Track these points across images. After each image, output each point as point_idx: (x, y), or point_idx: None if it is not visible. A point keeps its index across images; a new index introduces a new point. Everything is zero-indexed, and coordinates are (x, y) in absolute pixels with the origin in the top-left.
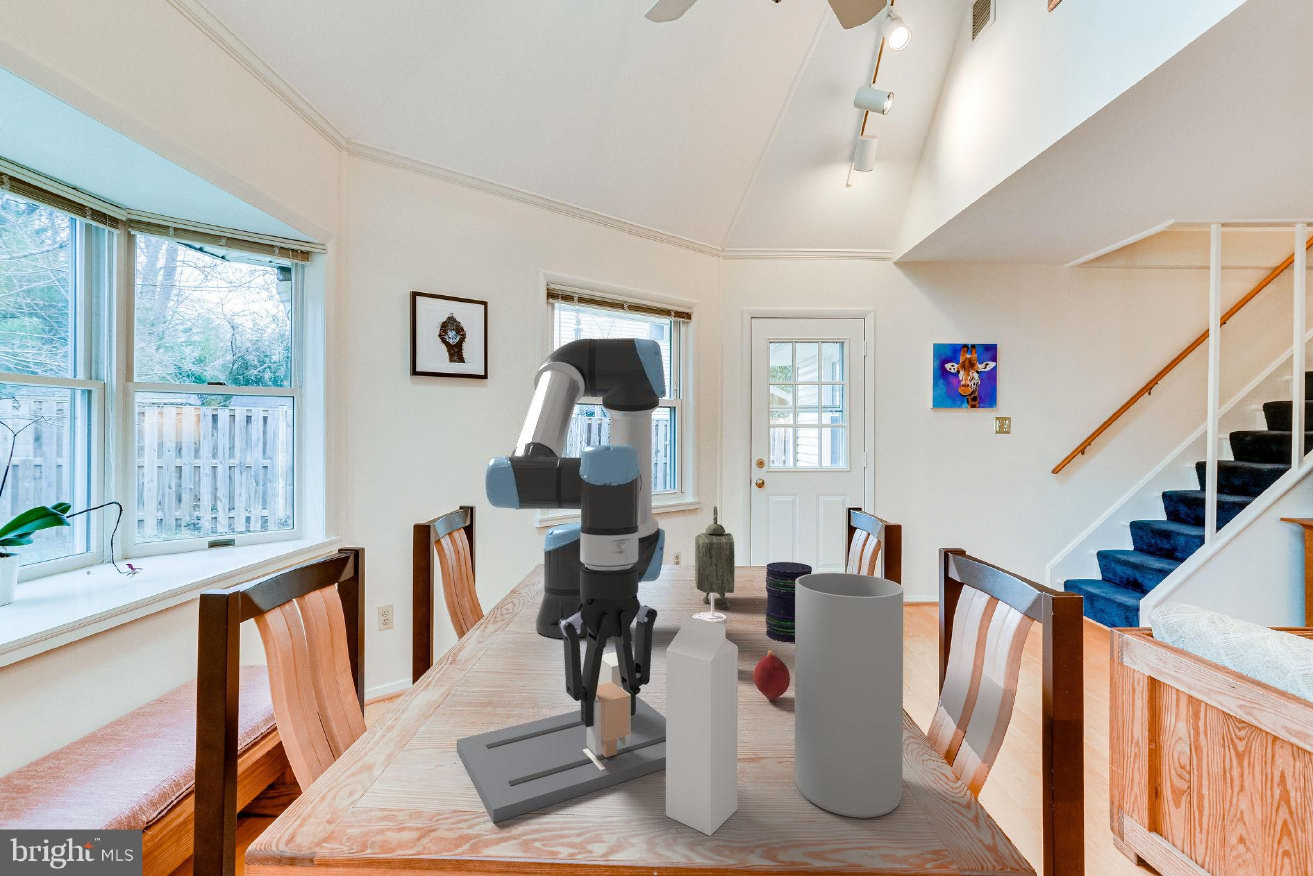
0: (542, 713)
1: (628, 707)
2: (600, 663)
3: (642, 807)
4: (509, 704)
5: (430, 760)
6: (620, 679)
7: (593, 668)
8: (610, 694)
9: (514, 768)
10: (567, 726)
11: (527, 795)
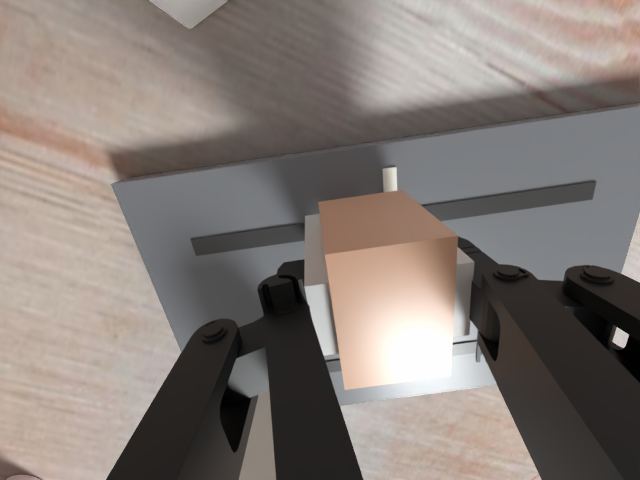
0: (395, 423)
1: (328, 232)
2: (598, 430)
3: (338, 20)
4: (435, 459)
5: (621, 342)
6: (268, 438)
7: (635, 394)
8: (402, 292)
9: (553, 245)
10: None
11: (585, 129)
